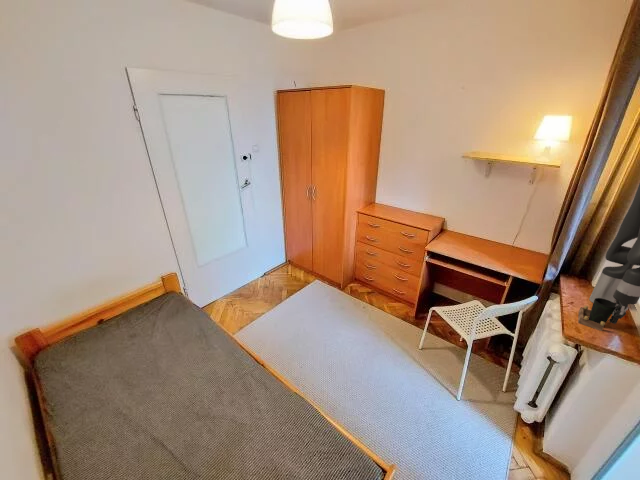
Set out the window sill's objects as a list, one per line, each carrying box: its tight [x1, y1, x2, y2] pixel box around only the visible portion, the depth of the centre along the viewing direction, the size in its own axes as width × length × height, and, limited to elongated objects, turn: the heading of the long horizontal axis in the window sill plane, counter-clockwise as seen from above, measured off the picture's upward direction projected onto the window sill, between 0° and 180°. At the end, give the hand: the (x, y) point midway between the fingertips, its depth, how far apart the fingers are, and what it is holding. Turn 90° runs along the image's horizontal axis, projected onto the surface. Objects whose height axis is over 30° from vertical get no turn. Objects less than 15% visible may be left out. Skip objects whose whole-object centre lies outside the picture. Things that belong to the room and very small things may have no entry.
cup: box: [588, 298, 616, 324], centre depth 130 cm, size 8×8×12 cm
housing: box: [577, 305, 606, 332], centre depth 133 cm, size 13×8×4 cm, turn 138°
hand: (612, 322), depth 128 cm, fingers closed
